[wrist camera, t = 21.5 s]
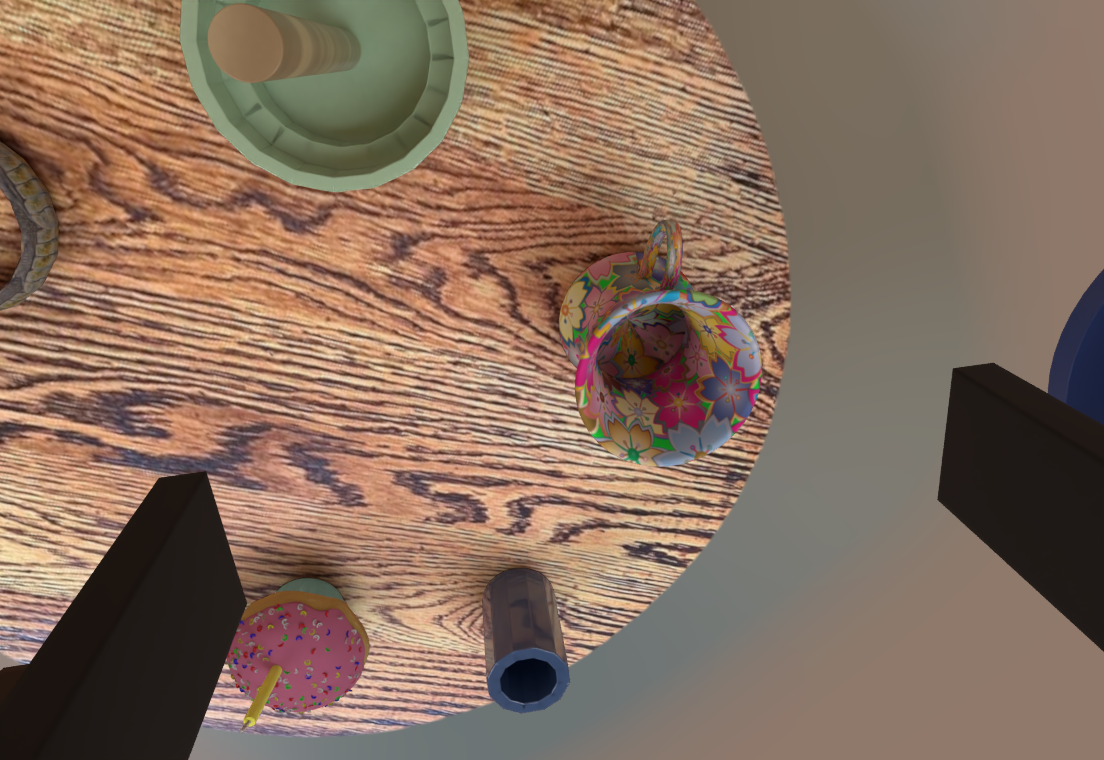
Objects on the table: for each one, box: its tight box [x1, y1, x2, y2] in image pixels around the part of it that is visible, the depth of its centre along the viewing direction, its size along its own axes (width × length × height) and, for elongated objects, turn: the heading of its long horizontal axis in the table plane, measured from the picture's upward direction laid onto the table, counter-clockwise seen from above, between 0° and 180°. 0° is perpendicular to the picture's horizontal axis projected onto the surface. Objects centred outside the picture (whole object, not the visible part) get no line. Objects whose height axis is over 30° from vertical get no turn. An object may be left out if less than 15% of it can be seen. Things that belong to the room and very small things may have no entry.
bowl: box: [180, 0, 469, 192], centre depth 37 cm, size 12×12×6 cm
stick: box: [208, 3, 362, 83], centre depth 30 cm, size 2×2×20 cm
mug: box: [559, 220, 762, 467], centre depth 42 cm, size 12×9×11 cm
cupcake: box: [226, 578, 369, 732], centre depth 47 cm, size 9×8×12 cm
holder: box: [482, 568, 570, 713], centre depth 51 cm, size 5×5×8 cm
